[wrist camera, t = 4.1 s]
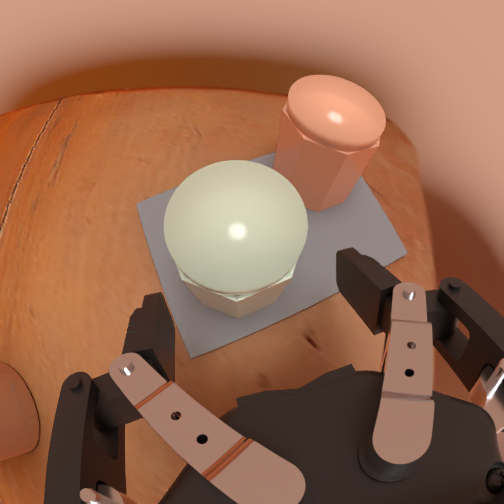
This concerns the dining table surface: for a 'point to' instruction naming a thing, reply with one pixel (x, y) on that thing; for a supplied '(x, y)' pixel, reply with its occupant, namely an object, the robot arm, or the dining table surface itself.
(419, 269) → the dining table surface
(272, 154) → the slate mat
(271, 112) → the dining table surface
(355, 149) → the faceted peach canister
